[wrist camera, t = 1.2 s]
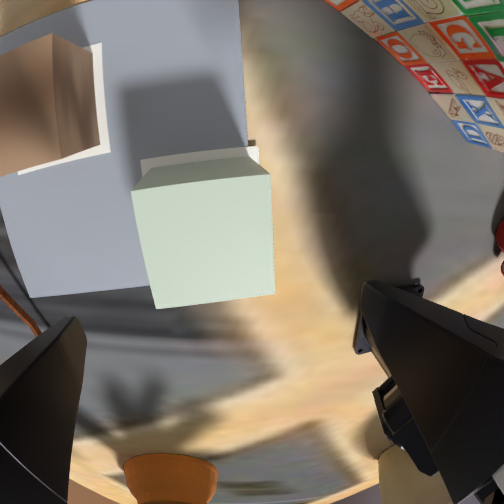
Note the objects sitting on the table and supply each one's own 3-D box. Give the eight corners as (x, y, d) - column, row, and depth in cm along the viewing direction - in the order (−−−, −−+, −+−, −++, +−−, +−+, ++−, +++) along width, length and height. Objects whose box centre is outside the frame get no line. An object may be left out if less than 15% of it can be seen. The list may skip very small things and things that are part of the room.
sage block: (254, 246, 21) (274, 293, 16) (165, 257, 20) (156, 309, 15) (249, 156, 19) (270, 174, 13) (150, 167, 18) (130, 191, 12)
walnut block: (100, 144, 17) (61, 158, 11) (23, 164, 16) (-29, 187, 11) (92, 53, 14) (52, 33, 9) (14, 80, 13) (-40, 77, 8)
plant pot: (428, 443, 45) (462, 501, 31) (361, 478, 46) (388, 541, 31) (437, 411, 39) (482, 481, 25) (355, 454, 39) (390, 535, 25)
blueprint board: (264, 268, 22) (264, 271, 22) (31, 295, 20) (30, 298, 20) (245, -20, 14) (246, -22, 14) (-14, 45, 12) (-16, 45, 11)
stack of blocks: (490, 95, 19) (601, 117, 8) (466, 143, 21) (584, 184, 10) (307, -80, 12) (386, -169, 1) (261, -38, 13) (328, -150, 2)
